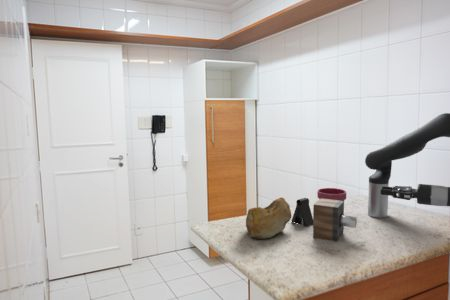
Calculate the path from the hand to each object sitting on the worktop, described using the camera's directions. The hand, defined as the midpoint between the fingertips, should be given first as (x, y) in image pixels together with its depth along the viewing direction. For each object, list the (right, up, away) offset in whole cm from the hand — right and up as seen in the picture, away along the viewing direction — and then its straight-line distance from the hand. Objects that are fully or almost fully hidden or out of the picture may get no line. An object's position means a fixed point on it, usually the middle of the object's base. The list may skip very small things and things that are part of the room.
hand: (381, 190), depth 131 cm
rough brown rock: (-44, -21, +18) cm, 52 cm away
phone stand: (-24, -20, +30) cm, 43 cm away
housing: (-17, -21, +13) cm, 30 cm away
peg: (-12, -16, +9) cm, 22 cm away
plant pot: (-6, -18, +42) cm, 46 cm away
